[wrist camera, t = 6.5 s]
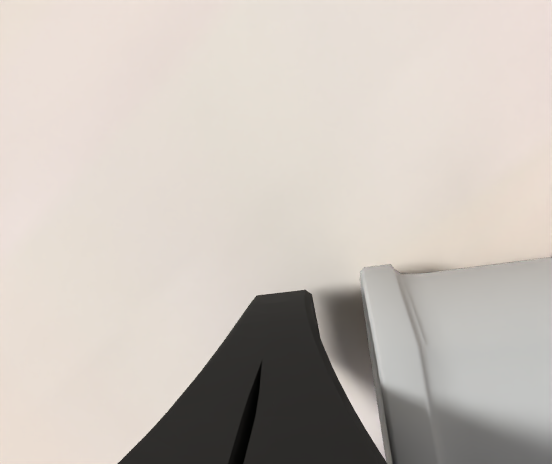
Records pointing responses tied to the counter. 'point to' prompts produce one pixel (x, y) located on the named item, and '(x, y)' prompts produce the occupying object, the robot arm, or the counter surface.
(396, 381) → the tube
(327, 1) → the counter surface
